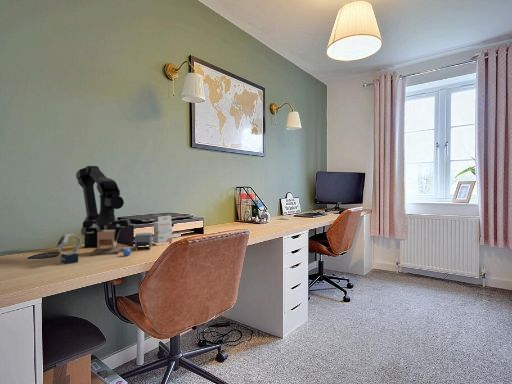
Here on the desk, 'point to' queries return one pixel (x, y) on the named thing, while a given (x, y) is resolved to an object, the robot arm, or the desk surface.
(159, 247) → the desk surface
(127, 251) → the blue marble
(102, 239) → the tan open box
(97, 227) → the robot arm
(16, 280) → the desk surface
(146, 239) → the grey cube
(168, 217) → the ink cartridge box
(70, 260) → the watch
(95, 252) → the walnut mat
